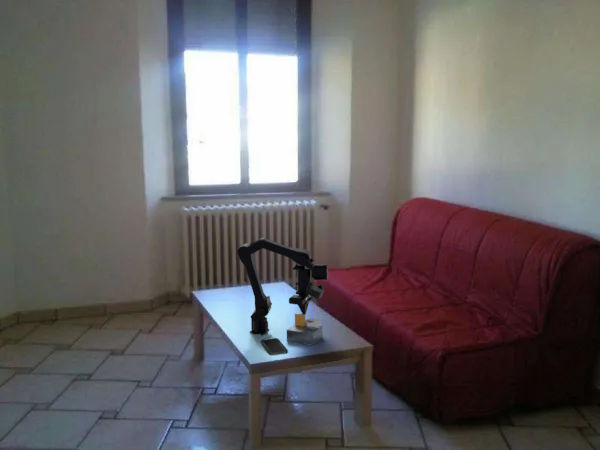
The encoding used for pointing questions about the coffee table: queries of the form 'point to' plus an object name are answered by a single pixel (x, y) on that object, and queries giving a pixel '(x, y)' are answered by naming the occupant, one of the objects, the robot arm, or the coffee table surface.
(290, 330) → the hitch block
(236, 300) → the coffee table surface
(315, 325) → the grey rounded piece
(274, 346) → the phone
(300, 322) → the grey orange block
